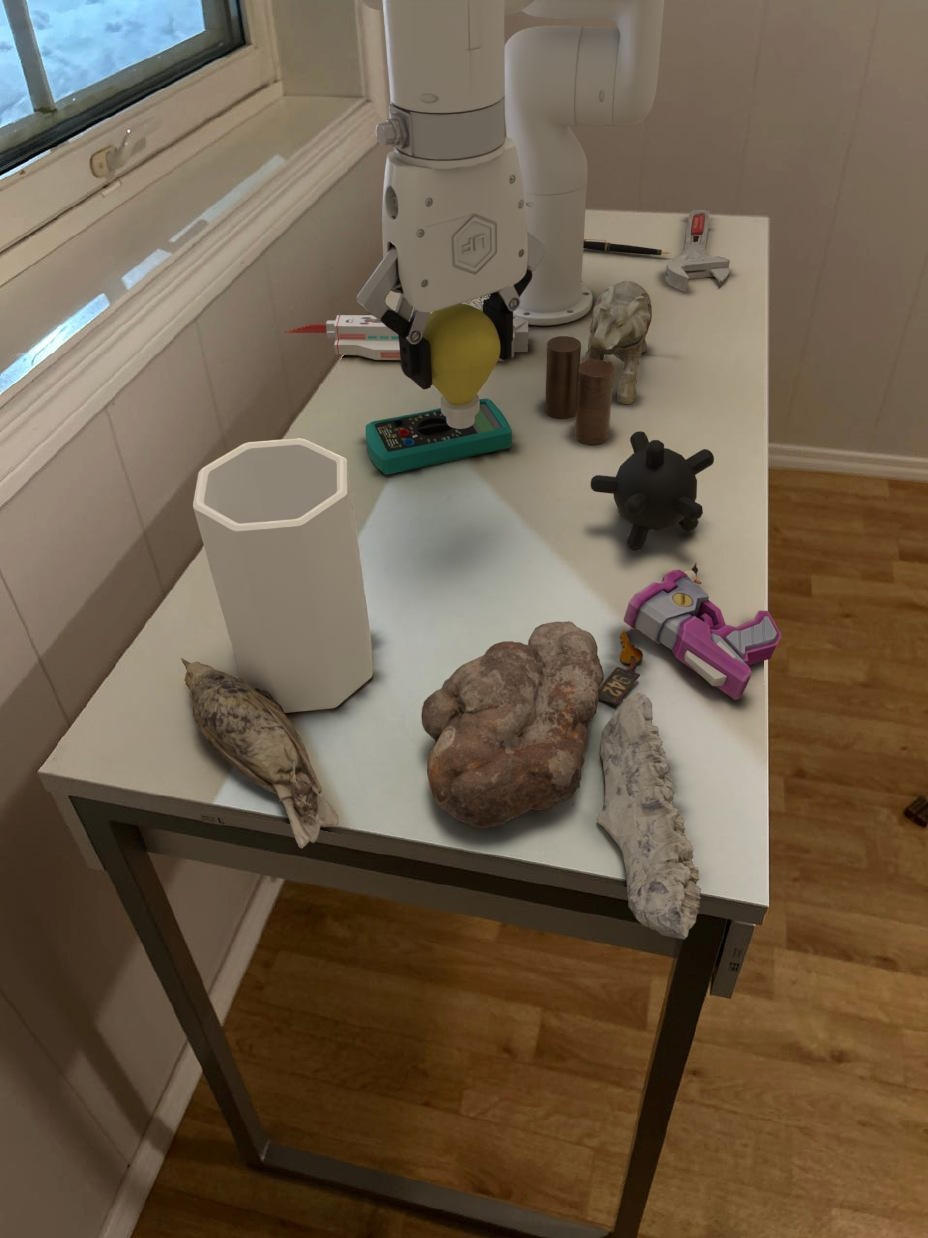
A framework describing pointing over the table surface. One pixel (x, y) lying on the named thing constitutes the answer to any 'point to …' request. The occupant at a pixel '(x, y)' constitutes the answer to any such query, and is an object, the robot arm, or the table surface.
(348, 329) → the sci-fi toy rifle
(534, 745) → the rock
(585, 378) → the peg mid
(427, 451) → the digital multimeter
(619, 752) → the fossil
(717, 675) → the toy gun
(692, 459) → the toy ball
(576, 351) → the peg far
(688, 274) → the adjustable wrench
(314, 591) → the cup
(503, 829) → the table surface
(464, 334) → the yellow light bulb
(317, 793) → the bird model
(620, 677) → the key tag
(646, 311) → the figurine
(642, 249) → the fountain pen
